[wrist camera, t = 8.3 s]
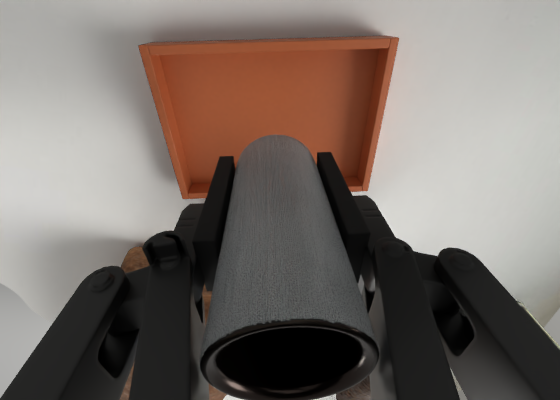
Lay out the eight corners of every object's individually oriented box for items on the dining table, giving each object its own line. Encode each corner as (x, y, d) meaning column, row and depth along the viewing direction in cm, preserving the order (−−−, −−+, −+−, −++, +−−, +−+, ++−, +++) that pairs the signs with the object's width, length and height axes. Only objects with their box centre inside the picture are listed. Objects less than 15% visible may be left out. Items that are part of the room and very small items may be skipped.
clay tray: (385, 35, 19) (399, 37, 17) (360, 178, 26) (367, 191, 24) (150, 42, 19) (137, 45, 17) (188, 185, 26) (182, 199, 24)
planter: (220, 172, 15) (161, 378, 6) (275, 115, 13) (293, 293, 5) (276, 214, 17) (288, 414, 8) (331, 169, 15) (415, 364, 7)
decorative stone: (374, 391, 59) (382, 419, 55) (322, 382, 55) (326, 412, 51) (438, 353, 50) (454, 383, 46) (381, 339, 46) (393, 371, 42)
